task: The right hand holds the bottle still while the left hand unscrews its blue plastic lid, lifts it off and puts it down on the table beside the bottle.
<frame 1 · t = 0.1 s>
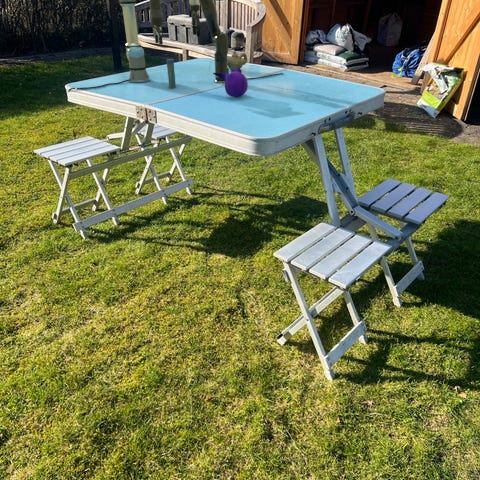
left hand: (196, 35, 349), 28 cm above the table, tool pointing down, fingers open, 13 cm apart
right hand: (159, 43, 300), 29 cm above the table, tool pointing down, fingers open, 8 cm apart
lid: (170, 60, 308), point 18 cm above the table, screwed on, not yet turned
toy: (232, 95, 292), on the table
teapot: (235, 70, 370), on the table
bottle: (172, 87, 317), on the table
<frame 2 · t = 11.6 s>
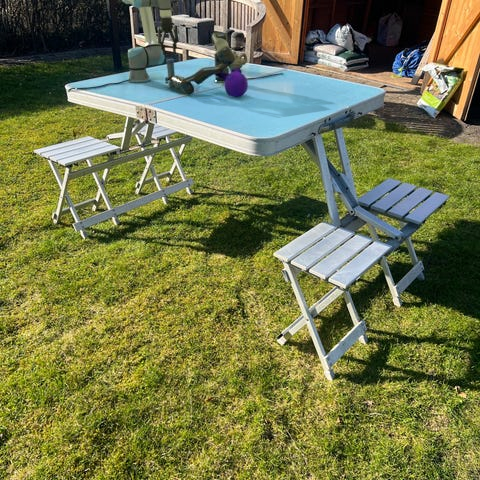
left hand: (169, 54, 306), 22 cm above the table, tool pointing down, fingers open, 7 cm apart
right hand: (170, 78, 316), 6 cm above the table, tool horizontal, fingers closed on bottle, 4 cm apart
bottle: (172, 87, 317), on the table, touching right hand
everything else where it was.
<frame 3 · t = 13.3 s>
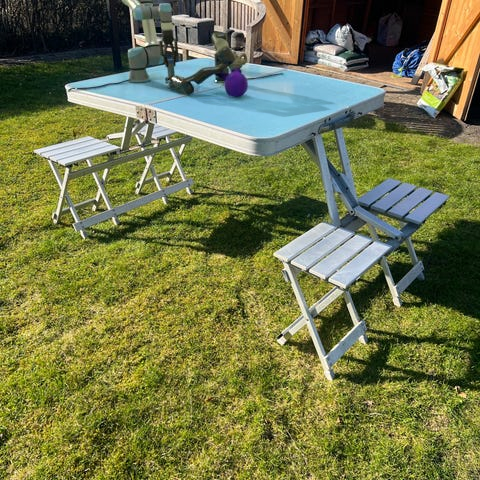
left hand: (170, 66, 310), 14 cm above the table, tool pointing down, fingers closed on lid, 5 cm apart
right hand: (170, 78, 316), 6 cm above the table, tool horizontal, fingers closed on bottle, 4 cm apart
lid: (170, 60, 308), point 18 cm above the table, screwed on, not yet turned, touching left hand
bottle: (172, 87, 317), on the table, touching right hand
everything else where it was.
when the left hand's fingers open (14 cm above the table, at t = 14.5 s): lid stays where it is, point 19 cm above the table.
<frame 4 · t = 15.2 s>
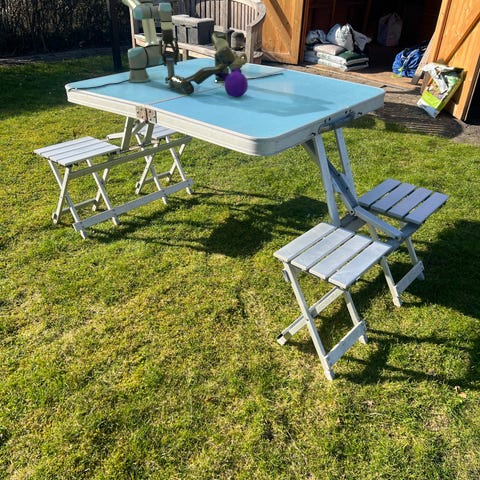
left hand: (170, 65, 310), 15 cm above the table, tool pointing down, fingers open, 7 cm apart
right hand: (170, 78, 316), 6 cm above the table, tool horizontal, fingers closed on bottle, 4 cm apart
lid: (169, 59, 308), point 19 cm above the table, turned 77° so far, risen 0.3 cm, still on its thread
bottle: (172, 87, 317), on the table, touching right hand
everything else where it was.
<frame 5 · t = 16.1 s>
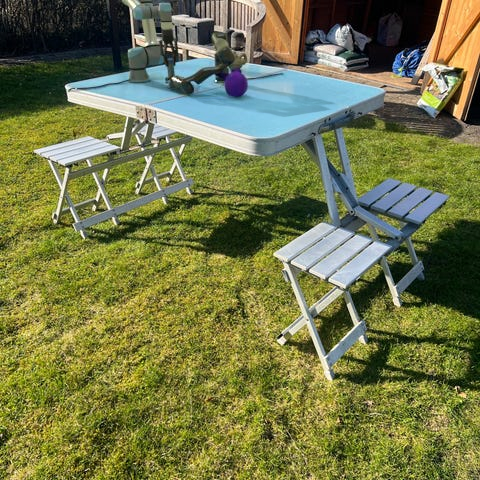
left hand: (170, 66, 310), 14 cm above the table, tool pointing down, fingers closed on lid, 5 cm apart
right hand: (170, 78, 316), 6 cm above the table, tool horizontal, fingers closed on bottle, 4 cm apart
lid: (169, 59, 308), point 19 cm above the table, turned 77° so far, risen 0.3 cm, still on its thread, touching left hand
bottle: (172, 87, 317), on the table, touching right hand
everything else where it was.
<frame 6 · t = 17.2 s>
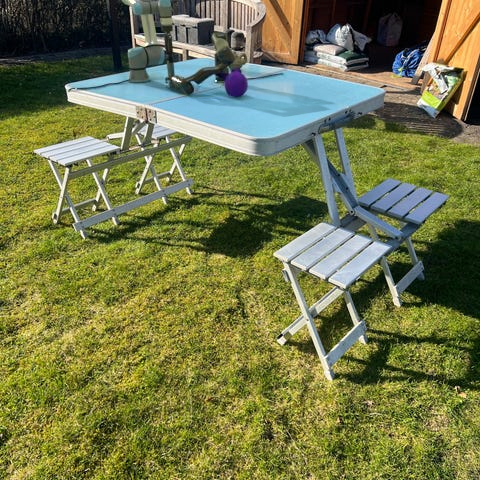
left hand: (170, 61, 309), 17 cm above the table, tool pointing down, fingers closed on lid, 5 cm apart
right hand: (170, 78, 316), 6 cm above the table, tool horizontal, fingers closed on bottle, 4 cm apart
lid: (169, 55, 307), point 21 cm above the table, off its thread, touching left hand
bottle: (172, 87, 317), on the table, touching right hand
everything else where it was.
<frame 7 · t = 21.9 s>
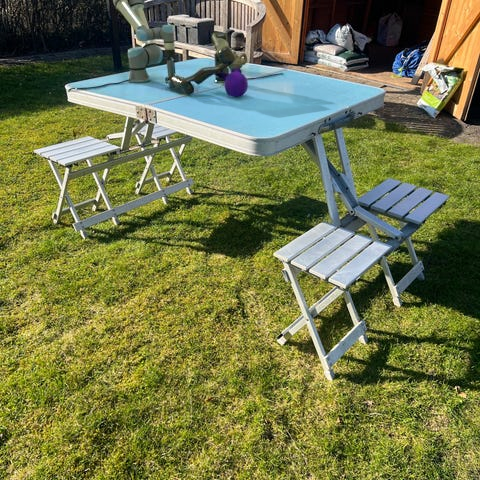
left hand: (172, 82, 332), 0 cm above the table, tool pointing down, fingers closed on lid, 5 cm apart
right hand: (170, 78, 316), 6 cm above the table, tool horizontal, fingers closed on bottle, 4 cm apart
lid: (172, 78, 330), point 3 cm above the table, off its thread, touching left hand
bottle: (172, 87, 317), on the table, touching right hand
everything else where it was.
when the left hand's fingers open (0 cm above the table, at t = 22.3 s): lid stays where it is, point 2 cm above the table.
when the right hand's fingers open (6 cm above the table, at t = 23.4 s): bottle stays where it is, on the table.
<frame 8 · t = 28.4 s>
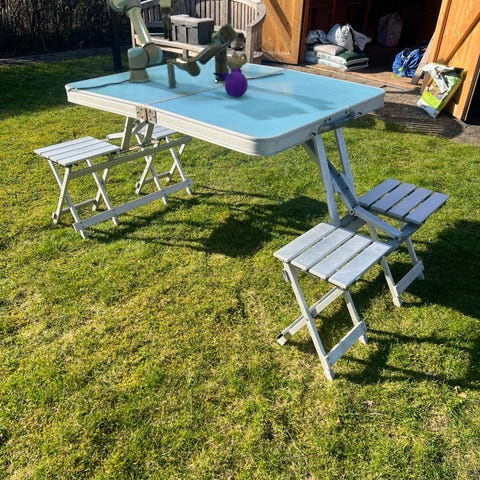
left hand: (168, 40, 317), 29 cm above the table, tool pointing down, fingers open, 13 cm apart
right hand: (175, 60, 299), 20 cm above the table, tool horizontal, fingers open, 8 cm apart
lid: (172, 80, 331), point 2 cm above the table, off its thread
bottle: (172, 87, 317), on the table
everything else where it was.
at the end: lid came off its thread; lid point 1.6 cm above the table; the left hand is holding nothing; the right hand is holding nothing; bottle tilted 0°; bottle moved 0.1 cm from its start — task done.
